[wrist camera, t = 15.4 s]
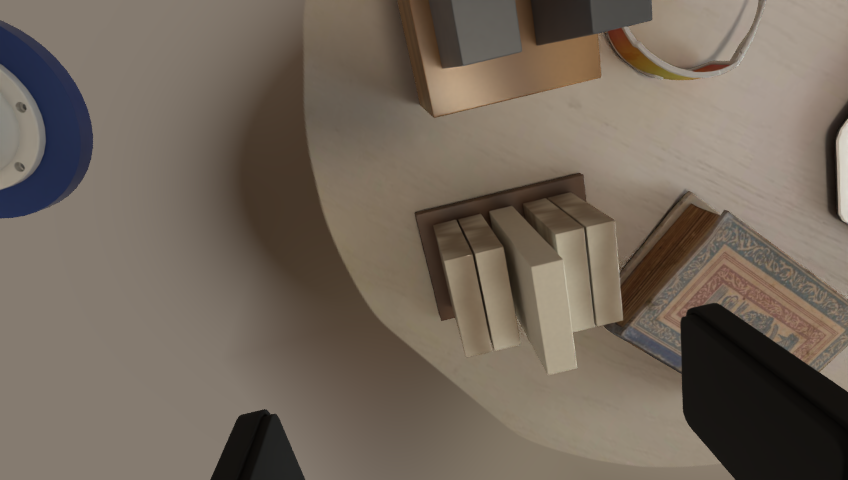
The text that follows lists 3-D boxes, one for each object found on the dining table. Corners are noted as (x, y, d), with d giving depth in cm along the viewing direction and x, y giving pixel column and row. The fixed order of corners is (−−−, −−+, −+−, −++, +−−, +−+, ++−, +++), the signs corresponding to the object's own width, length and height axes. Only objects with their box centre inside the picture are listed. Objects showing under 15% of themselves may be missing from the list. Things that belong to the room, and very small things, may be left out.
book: (728, 206, 43) (883, 322, 50) (685, 189, 50) (828, 294, 56) (612, 339, 48) (768, 431, 54) (587, 308, 54) (729, 393, 60)
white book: (504, 293, 51) (547, 375, 37) (488, 210, 48) (530, 267, 34) (525, 288, 51) (577, 368, 37) (512, 205, 48) (563, 259, 34)
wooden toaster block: (420, 105, 45) (433, 118, 32) (384, -56, 40) (382, -121, 27) (539, 77, 45) (601, 77, 32) (517, -89, 40) (581, -170, 27)
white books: (440, 316, 53) (453, 375, 43) (414, 212, 48) (422, 249, 38) (591, 280, 53) (640, 330, 43) (579, 172, 48) (632, 199, 38)
